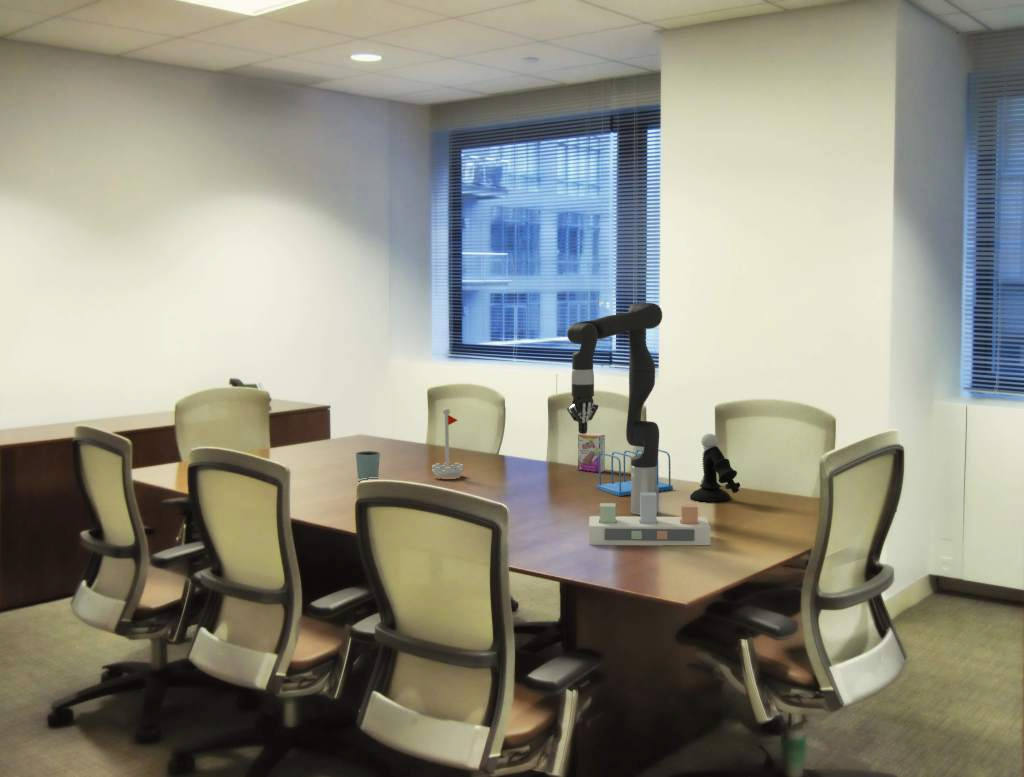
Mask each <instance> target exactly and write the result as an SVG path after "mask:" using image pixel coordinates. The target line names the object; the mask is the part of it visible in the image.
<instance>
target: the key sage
mask: <svg viewBox="0 0 1024 777" xmlns="http://www.w3.org/2000/svg"><path fill="white" fill-rule="evenodd" d="M616 505H617V504H616V503H613V502H610V503H609V502H607V503H606V502H602V503H599V516H600V523H616V515H617V514H616V513H617V512H616V510H617V509H616V508H617V507H616Z"/></svg>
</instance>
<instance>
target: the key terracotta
mask: <svg viewBox="0 0 1024 777" xmlns="http://www.w3.org/2000/svg"><path fill="white" fill-rule="evenodd" d="M680 517H681V524H698V517H699V507H698V504H697V503H680Z"/></svg>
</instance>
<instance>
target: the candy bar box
mask: <svg viewBox="0 0 1024 777" xmlns="http://www.w3.org/2000/svg"><path fill="white" fill-rule="evenodd" d="M605 438H606V434H602V433H600V434H599V433H592V432H590V433H589V432H587V433H586V434H580V433H578V434H577V470H578V471H582V472H589V471H591V472H590V473H599V455H600V454H601V453H605V454H606V450H605V449H606V445H605V443H606V440H605ZM605 457H606V455H601V457H600V467H601V473H603V472H605V471H606V465H605V464H606V460H605V459H606V458H605Z"/></svg>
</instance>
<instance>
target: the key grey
mask: <svg viewBox="0 0 1024 777" xmlns="http://www.w3.org/2000/svg"><path fill="white" fill-rule="evenodd" d="M657 514H658V512H657V495H656V493H646V492H640V515H639V517H640V524H657V517H658V516H657Z"/></svg>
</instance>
